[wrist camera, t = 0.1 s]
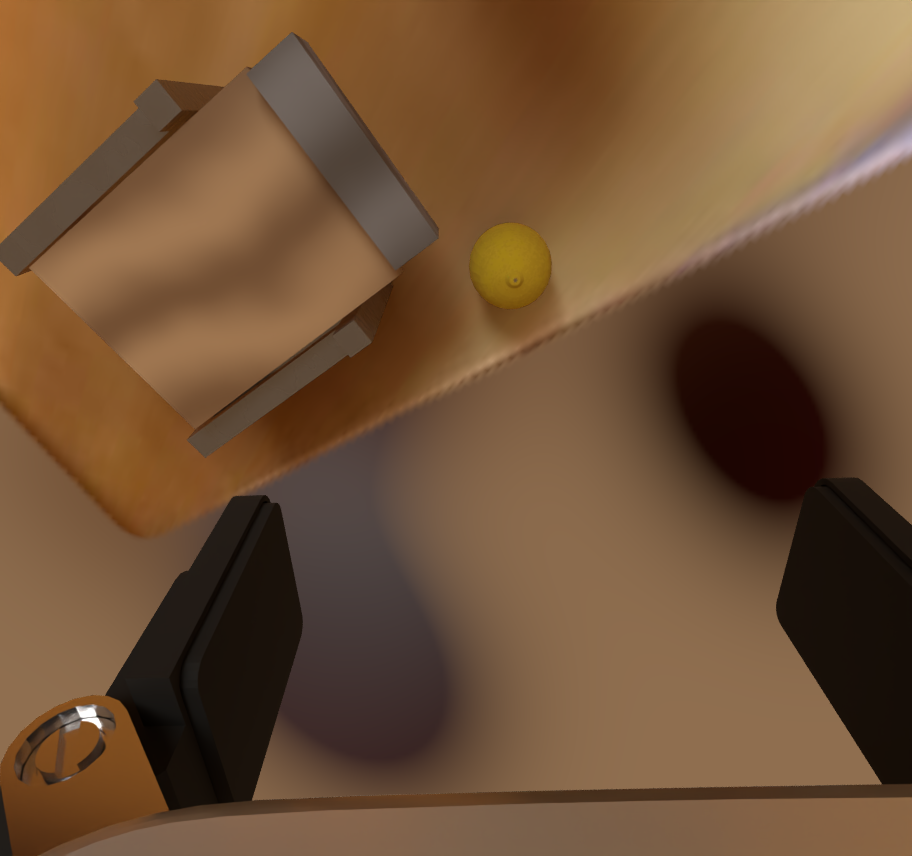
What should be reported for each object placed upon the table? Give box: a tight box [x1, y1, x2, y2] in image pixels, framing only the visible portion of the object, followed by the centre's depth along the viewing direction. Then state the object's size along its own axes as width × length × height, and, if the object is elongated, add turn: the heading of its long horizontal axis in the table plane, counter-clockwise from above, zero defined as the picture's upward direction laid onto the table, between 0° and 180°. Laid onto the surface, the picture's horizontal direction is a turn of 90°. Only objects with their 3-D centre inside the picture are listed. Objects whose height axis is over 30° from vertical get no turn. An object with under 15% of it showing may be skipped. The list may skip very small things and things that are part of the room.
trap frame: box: [0, 79, 393, 458], centre depth 39 cm, size 16×14×13 cm
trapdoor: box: [29, 32, 438, 429], centre depth 33 cm, size 12×19×4 cm, turn 126°
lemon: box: [469, 223, 552, 309], centre depth 42 cm, size 6×6×8 cm
